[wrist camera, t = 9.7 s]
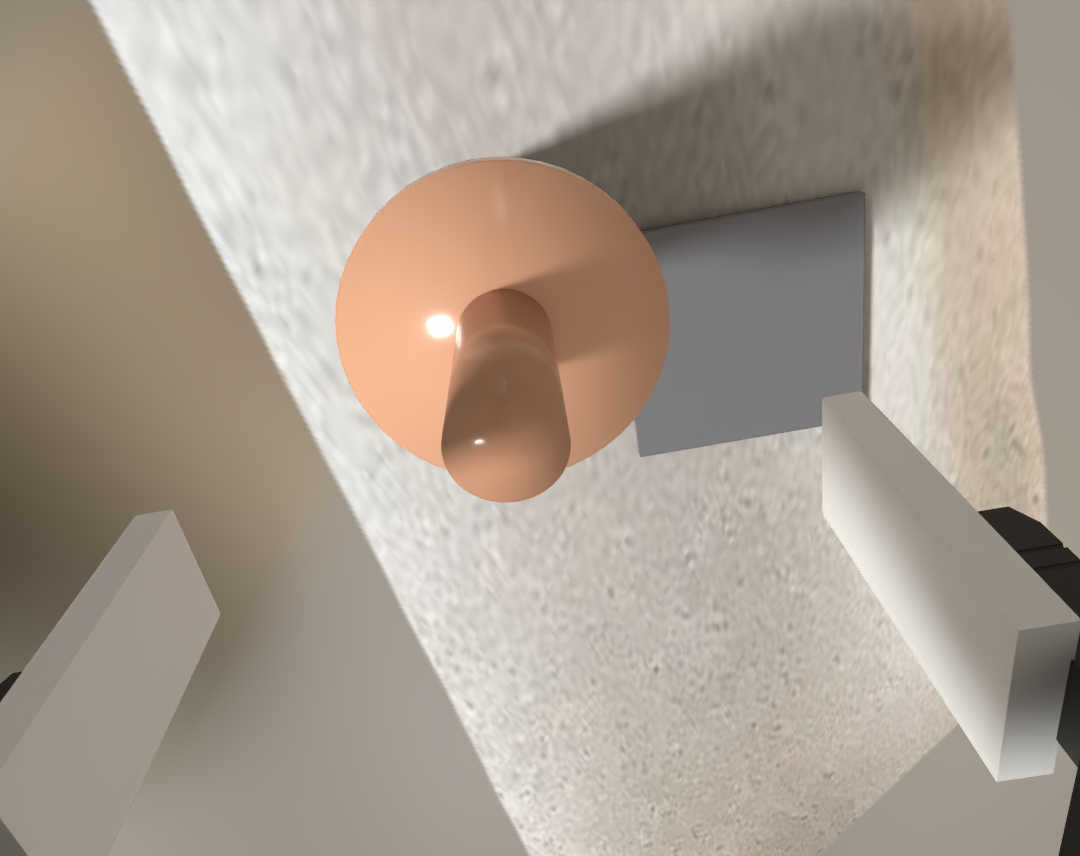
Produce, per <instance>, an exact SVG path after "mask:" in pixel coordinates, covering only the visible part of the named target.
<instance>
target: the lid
mask: <svg viewBox="0 0 1080 856" xmlns="http://www.w3.org/2000/svg"><path fill="white" fill-rule="evenodd" d="M335 326H336V336H337V345H338V349H339V354H340V358H341V362H342V366H343V368H344V371H345V373H346V376H347V379H348V381H349V384H350V386H351V387H352V389H353V391H354V393H355V395H356V397H357V399H358V400H359V402H360V403H361V405H362V406H363V408H364V409H365V410H366V412H367V413H368V414H369V416H370V417H371V418H372V420H373V421H374V422H375V423H376V424H377V425H378V426H379V427H380V428H381V429H382V430H383V431H384V432H385V433H386V434H387V435H388V436H389V437H391V438H392V439H393V440H394V441H395V442H397V443H398V444H399V445H400V446H402V447H403V448H405V449H406V450H408V451H409V452H411V453H412V454H414V455H415V456H417V457H419V458H421V459H423V460H425V461H427V462H429V463H431V464H433V465H435V466H438V467H441V468H444V469H446V470H448V472H449V474H450V475H451V476H452V478H453V479H454V480H455V481H456V482H457V483H458V484H459V485H460V486H461V487H462V488H463V489H465V490H466V491H468V492H469V493H471V494H473V495H475V496H477V497H479V498H482V499H485V500H489V501H494V502H518V501H522V500H526V499H529V498H532V497H535V496H537V495H539V494H541V493H542V492H544V491H545V490H547V489H548V488H549V487H551V486H552V485H553V484H554V483H555V482H556V481H557V480H558V479H559V477H560V476H561V475H562V473H563V471H564V470H565V468H566V467H569V466H572V465H574V464H576V463H578V462H580V461H582V460H584V459H586V458H588V457H590V456H591V455H593V454H594V453H596V452H597V451H599V450H600V449H602V448H604V447H605V446H606V445H608V444H609V443H610V442H611V441H612V440H614V439H615V438H616V437H617V436H618V435H620V434H621V433H622V432H623V431H624V430H625V429H626V428H627V426H628V425H629V424H630V423H631V422H632V421H633V420H634V419H635V418H636V416H637V415H638V414H639V412H640V411H641V409H642V408H643V407H644V405H645V404H646V402H647V401H648V399H649V397H650V395H651V393H652V392H653V390H654V388H655V386H656V384H657V381H658V379H659V376H660V374H661V371H662V368H663V365H664V361H665V357H666V353H667V349H668V342H669V333H670V307H669V300H668V294H667V289H666V284H665V281H664V278H663V274H662V271H661V268H660V265H659V263H658V261H657V259H656V257H655V255H654V252H653V250H652V248H651V246H650V244H649V243H648V241H647V240H646V238H645V237H644V235H643V234H642V232H641V231H640V229H639V228H638V226H637V225H636V224H635V222H634V221H633V219H632V218H631V217H630V216H629V215H628V214H627V213H626V212H625V210H624V209H623V208H622V207H621V206H620V205H619V204H618V203H617V202H616V201H615V200H614V199H612V198H611V197H610V196H609V195H608V194H607V193H605V192H604V191H603V190H602V189H600V188H599V187H597V186H596V185H594V184H593V183H591V182H589V181H588V180H586V179H585V178H583V177H581V176H579V175H577V174H575V173H573V172H570V171H568V170H566V169H564V168H562V167H558V166H555V165H552V164H548V163H545V162H542V161H537V160H531V159H525V158H518V157H488V158H479V159H471V160H467V161H463V162H459V163H455V164H451V165H448V166H445V167H443V168H441V169H438V170H436V171H433V172H431V173H428V174H426V175H425V176H423V177H421V178H420V179H418V180H416V181H415V182H413V183H411V184H409V185H408V186H406V187H405V188H404V189H403V190H401V191H400V192H399V193H398V194H396V195H395V196H394V197H393V198H391V199H390V200H389V201H388V202H387V203H386V204H385V205H384V206H383V207H382V209H381V210H380V211H379V212H378V213H377V214H376V215H375V216H374V218H373V219H372V220H371V222H370V223H369V225H368V226H367V227H366V229H365V230H364V232H363V233H362V235H361V236H360V238H359V239H358V241H357V242H356V244H355V246H354V248H353V250H352V252H351V254H350V256H349V258H348V260H347V263H346V266H345V269H344V272H343V274H342V277H341V280H340V285H339V290H338V295H337V301H336V318H335Z"/></svg>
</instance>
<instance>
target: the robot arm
mask: <svg viewBox="0 0 1080 856" xmlns="http://www.w3.org/2000/svg"><path fill="white" fill-rule="evenodd" d="M822 465H823V515H824V516H825V518H826V519H827V521H828V523H829V524H830V526H831V527H832V529H833V530H834V532H835V533H836V535H837V536H838V538H839V539H840V541H841V543H842V544H843V546H844V547H845V549H846V550H847V552H848V553H849V555H850V556H851V558H852V560H853V561H854V563H855V564H856V566H857V567H858V569H859V570H860V572H861V573H862V575H863V577H864V578H865V580H866V581H867V583H868V584H869V586H870V587H871V589H872V590H873V592H874V593H875V595H876V597H877V598H878V600H879V601H880V603H881V604H882V606H883V607H884V609H885V610H886V612H887V614H888V615H889V617H890V618H891V620H892V621H893V623H894V624H895V626H896V627H897V629H898V631H899V632H900V634H901V635H902V637H903V638H904V640H905V641H906V643H907V644H908V646H909V647H910V649H911V651H912V652H913V654H914V655H915V657H916V658H917V660H918V661H919V663H920V664H921V666H922V668H923V669H924V671H925V672H926V674H927V675H928V677H929V678H930V680H931V681H932V683H933V684H934V686H935V688H936V689H937V691H938V692H939V694H940V695H941V697H942V698H943V700H944V701H945V703H946V705H947V706H948V708H949V709H950V711H951V712H952V714H953V715H954V717H955V718H956V720H957V722H958V723H959V725H960V726H961V728H962V729H963V731H964V732H965V734H966V735H967V737H968V738H969V740H970V742H971V743H972V745H973V746H974V748H975V749H976V751H977V752H978V754H979V755H980V757H981V759H982V760H983V761H984V763H985V765H986V766H987V767H988V769H989V771H990V772H991V774H992V776H993V777H994V779H995V780H996V782H999V781H1006V780H1012V779H1019V778H1025V777H1032V776H1038V775H1045V774H1051V773H1053V770H1054V764H1055V759H1056V754H1057V749H1058V743H1059V744H1060V745H1061V746H1062V748H1063V749H1064V750H1065V751H1066V753H1067V754H1068V755H1069V757H1070V758H1071V759H1072V761H1073V762H1074V763H1075V765H1076V766H1077V767H1078V770H1077V774H1076V779H1075V783H1074V788H1073V793H1072V797H1071V801H1070V807H1069V811H1068V815H1067V820H1066V825H1065V829H1064V834H1063V838H1062V843H1061V847H1060V852H1059V856H1080V559H1079V558H1078V557H1077V556H1076V555H1075V554H1074V553H1072V552H1071V551H1070V550H1069V549H1068V548H1067V547H1066V548H1064V547H1063V543H1062V542H1061V541H1060V540H1059V539H1057V538H1056V537H1055V536H1054V535H1053V534H1052V533H1051V532H1050V531H1049V530H1048V529H1047V528H1046V527H1045V526H1044V525H1043V524H1042V523H1041V522H1039V521H1036V520H1034V519H1032V518H1030V517H1028V516H1026V515H1024V514H1022V513H1020V512H1018V511H1016V510H1014V509H1012V508H1010V507H1003V508H997V509H991V510H985V511H979V512H977V511H976V510H975V509H974V508H973V507H972V506H971V505H970V503H969V502H968V501H967V500H966V499H965V498H964V497H963V496H962V495H961V494H960V493H959V492H958V491H957V490H956V489H955V488H954V487H953V486H952V485H951V484H950V483H949V482H948V481H947V480H946V479H945V477H944V476H943V475H942V474H941V473H940V472H939V471H938V470H937V469H936V468H935V467H934V466H933V465H932V464H931V463H930V462H929V461H928V460H927V459H926V458H925V457H924V456H923V455H922V454H921V453H920V451H919V450H918V449H917V448H916V447H915V446H914V445H913V444H912V443H911V442H910V441H909V440H908V439H907V438H906V437H905V436H904V435H903V434H902V433H901V432H900V431H899V430H898V429H897V428H896V427H895V425H894V424H893V423H892V422H891V421H890V420H889V419H888V418H887V417H886V416H885V415H884V414H883V413H882V412H881V411H880V410H879V409H878V408H877V407H876V406H875V405H874V404H873V403H872V402H871V401H870V399H869V398H868V397H867V396H866V395H865V394H864V393H863V392H862V391H858V392H852V393H847V394H841V395H835V396H829V397H823V398H822ZM219 616H220V612H219V610H218V607H217V605H216V603H215V601H214V599H213V597H212V594H211V592H210V590H209V588H208V586H207V584H206V582H205V579H204V577H203V575H202V573H201V571H200V568H199V566H198V564H197V562H196V560H195V558H194V555H193V553H192V551H191V549H190V547H189V545H188V542H187V541H186V538H185V536H184V534H183V532H182V530H181V527H180V526H179V523H178V521H177V519H176V517H175V514H174V512H173V510H166V511H160V512H155V513H149V514H143V515H137V516H135V517H134V519H133V520H132V521H131V523H130V524H129V525H128V527H127V528H126V530H125V531H124V533H123V534H122V535H121V537H120V538H119V539H118V541H117V542H116V544H115V545H114V546H113V548H112V549H111V551H110V552H109V553H108V555H107V556H106V557H105V559H104V560H103V561H102V563H101V564H100V566H99V567H98V568H97V570H96V571H95V573H94V574H93V575H92V577H91V578H90V579H89V581H88V582H87V583H86V585H85V586H84V588H83V589H82V591H81V592H80V593H79V595H78V596H77V597H76V599H75V600H74V601H73V603H72V604H71V605H70V607H69V608H68V610H67V611H66V612H65V614H64V615H63V617H62V618H61V619H60V621H59V622H58V623H57V625H56V626H55V628H54V629H53V630H52V632H51V633H50V634H49V636H48V637H47V639H46V640H45V642H44V643H43V644H42V645H41V647H40V648H39V650H38V651H37V653H36V654H35V655H34V657H33V658H32V659H31V661H30V662H29V663H28V665H27V666H26V668H25V669H24V670H23V672H17V673H13V674H11V675H10V676H9V677H8V678H7V679H6V680H4V681H3V682H2V683H1V684H0V856H108V855H109V853H110V851H111V848H112V846H113V844H114V842H115V840H116V838H117V836H118V833H119V831H120V829H121V827H122V825H123V823H124V820H125V818H126V816H127V814H128V812H129V810H130V808H131V806H132V803H133V801H134V799H135V797H136V795H137V793H138V790H139V788H140V786H141V784H142V782H143V780H144V777H145V775H146V773H147V771H148V769H149V767H150V765H151V762H152V760H153V758H154V756H155V754H156V752H157V749H158V747H159V745H160V743H161V741H162V739H163V737H164V734H165V732H166V730H167V728H168V726H169V723H170V722H171V719H172V717H173V715H174V713H175V711H176V709H177V707H178V704H179V702H180V700H181V698H182V696H183V693H184V691H185V689H186V687H187V685H188V683H189V681H190V679H191V676H192V674H193V672H194V670H195V668H196V665H197V663H198V661H199V659H200V657H201V655H202V653H203V650H204V648H205V646H206V644H207V642H208V640H209V638H210V636H211V633H212V631H213V629H214V627H215V625H216V622H217V620H218V618H219Z"/></svg>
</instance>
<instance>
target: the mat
mask: <svg viewBox="0 0 1080 856" xmlns="http://www.w3.org/2000/svg"><path fill="white" fill-rule="evenodd" d="M864 227H865V193H863V192H861V191H858V192H853V193H847V194H842V195H836V196H831V197H825V198H820V199H814V200H809V201H803V202H798V203H792V204H787V205H781V206H776V207H770V208H765V209H759V210H754V211H748V212H743V213H738V214H732V215H727V216H721V217H716V218H710V219H705V220H699V221H694V222H688V223H683V224H677V225H672V226H666V227H661V228H655V229H650V230H644V231H641V232H642V234H643V235H644V237H645V238H646V240H647V241H648V243H649V244H650V246H651V248H652V250H653V252H654V255H655V257H656V259H657V261H658V263H659V265H660V268H661V271H662V274H663V278H664V281H665V284H666V289H667V294H668V300H669V307H670V333H669V342H668V349H667V353H666V357H665V361H664V365H663V368H662V371H661V374H660V376H659V379H658V381H657V384H656V386H655V388H654V390H653V392H652V393H651V395H650V397H649V399H648V401H647V402H646V404H645V405H644V407H643V408H642V409H641V411H640V412H639V414H638V415H637V416H636V418H635V425H636V432H637V440H638V448H639V453H640V457H645V456H650V455H656V454H662V453H668V452H674V451H680V450H685V449H691V448H697V447H703V446H709V445H714V444H720V443H726V442H732V441H738V440H744V439H749V438H755V437H761V436H767V435H773V434H778V433H784V432H790V431H796V430H802V429H807V428H813V427H819V426H822V398H823V397H829V396H835V395H841V394H847V393H852V392H858V391H862V375H863V301H864Z"/></svg>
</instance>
